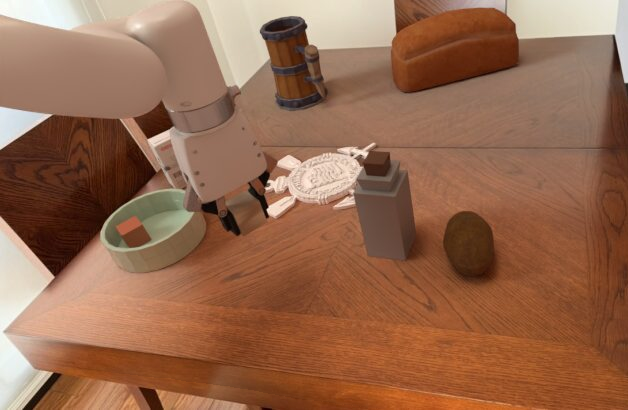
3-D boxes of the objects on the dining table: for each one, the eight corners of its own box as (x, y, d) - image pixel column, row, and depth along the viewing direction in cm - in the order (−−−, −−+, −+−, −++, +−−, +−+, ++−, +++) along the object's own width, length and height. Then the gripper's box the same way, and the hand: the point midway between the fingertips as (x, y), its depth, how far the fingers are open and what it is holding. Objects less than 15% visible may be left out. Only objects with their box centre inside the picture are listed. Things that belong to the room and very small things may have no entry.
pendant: (394, 203, 95) (393, 197, 94) (250, 222, 97) (248, 216, 96) (390, 143, 111) (389, 137, 110) (267, 160, 113) (265, 155, 112)
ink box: (203, 165, 116) (183, 121, 108) (212, 173, 112) (192, 128, 105) (168, 183, 112) (145, 138, 105) (176, 192, 109) (153, 146, 101)
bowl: (133, 288, 87) (118, 266, 84) (102, 243, 99) (88, 222, 95) (222, 234, 95) (212, 212, 92) (184, 198, 106) (174, 177, 103)
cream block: (243, 236, 70) (234, 215, 68) (230, 224, 73) (221, 203, 70) (267, 222, 72) (259, 200, 69) (254, 210, 75) (245, 189, 72)
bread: (389, 75, 138) (381, 19, 128) (500, 48, 141) (501, -9, 132) (402, 96, 127) (394, 36, 118) (523, 66, 131) (525, 5, 121)
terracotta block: (131, 251, 94) (121, 235, 92) (124, 241, 97) (114, 226, 94) (151, 239, 96) (142, 224, 94) (144, 230, 99) (135, 215, 96)
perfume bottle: (367, 255, 85) (347, 169, 74) (379, 228, 90) (362, 144, 78) (405, 260, 83) (391, 172, 71) (416, 233, 87) (404, 146, 76)
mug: (350, 97, 131) (334, 21, 119) (306, 121, 125) (284, 43, 112) (308, 80, 144) (289, 10, 131) (265, 101, 137) (242, 29, 125)
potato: (454, 290, 76) (451, 254, 71) (436, 237, 86) (432, 202, 81) (506, 279, 76) (506, 243, 71) (482, 227, 86) (481, 192, 81)
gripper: (247, 76, 67) (283, 185, 78) (125, 130, 60) (185, 241, 71) (275, 90, 62) (310, 204, 73) (146, 151, 55) (207, 267, 66)
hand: (248, 221), depth 72 cm, fingers closed on cream block, 4 cm apart
